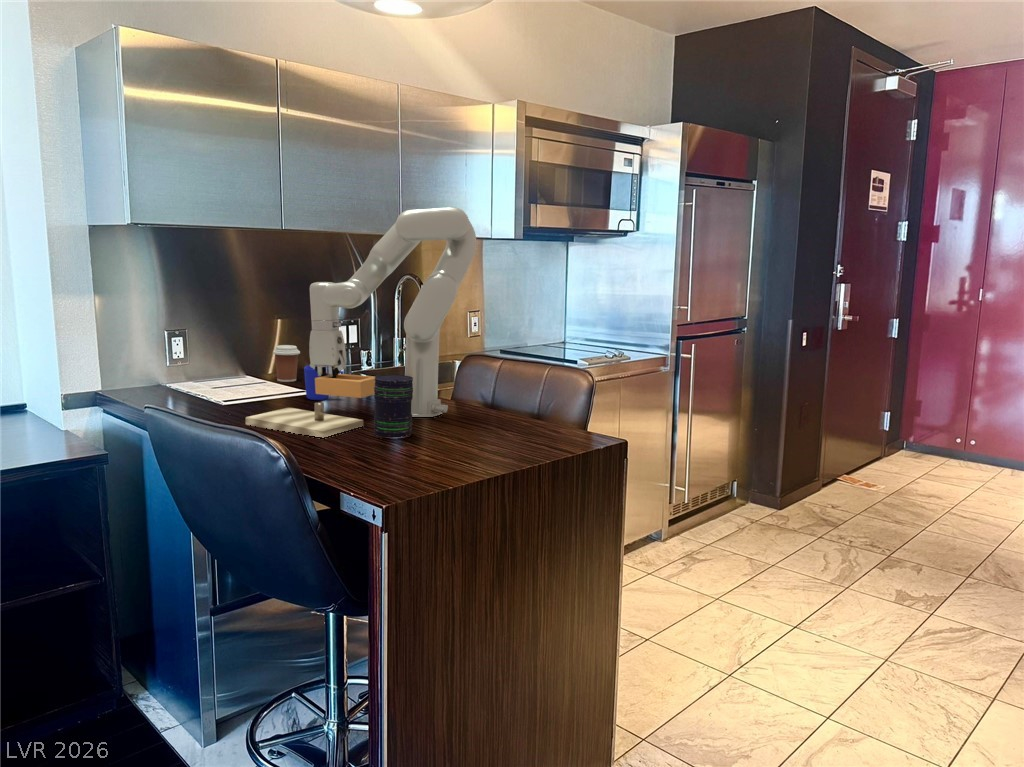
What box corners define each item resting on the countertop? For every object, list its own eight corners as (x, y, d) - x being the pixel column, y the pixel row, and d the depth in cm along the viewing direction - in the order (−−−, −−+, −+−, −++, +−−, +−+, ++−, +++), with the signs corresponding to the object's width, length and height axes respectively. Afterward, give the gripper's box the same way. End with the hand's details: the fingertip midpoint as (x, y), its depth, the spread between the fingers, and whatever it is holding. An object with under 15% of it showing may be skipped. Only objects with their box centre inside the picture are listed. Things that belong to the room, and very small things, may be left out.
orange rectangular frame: (380, 392, 215) (380, 376, 214) (361, 398, 207) (360, 381, 206) (336, 388, 222) (335, 373, 221) (315, 393, 214) (314, 378, 213)
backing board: (363, 427, 202) (363, 420, 201) (323, 439, 187) (323, 431, 187) (288, 414, 213) (288, 407, 213) (245, 424, 199) (245, 417, 198)
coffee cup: (293, 377, 272) (293, 344, 270) (304, 381, 266) (304, 347, 264) (268, 379, 267) (268, 345, 265) (279, 383, 260) (279, 348, 258)
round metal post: (325, 419, 199) (325, 403, 199) (319, 421, 197) (319, 404, 197) (318, 418, 201) (318, 401, 200) (312, 420, 198) (312, 403, 198)
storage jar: (370, 431, 198) (371, 374, 195) (407, 429, 201) (408, 374, 199) (377, 440, 189) (378, 381, 186) (416, 438, 192) (417, 380, 190)
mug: (339, 402, 232) (340, 370, 230) (300, 400, 232) (300, 368, 231) (346, 397, 240) (346, 366, 239) (308, 395, 240) (308, 364, 239)
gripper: (356, 325, 214) (359, 389, 217) (312, 323, 221) (316, 385, 224) (338, 328, 208) (342, 394, 211) (294, 326, 215) (298, 390, 218)
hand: (328, 389), depth 218 cm, fingers closed on orange rectangular frame, 2 cm apart
